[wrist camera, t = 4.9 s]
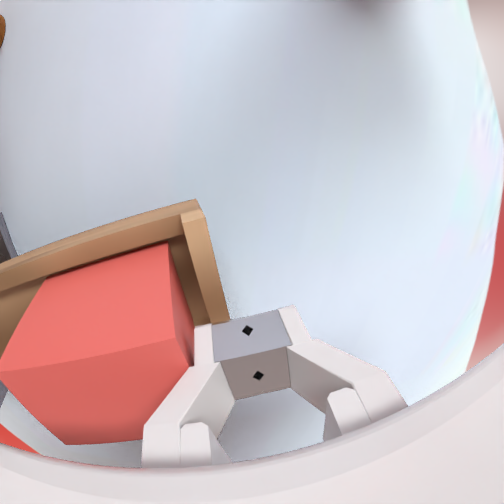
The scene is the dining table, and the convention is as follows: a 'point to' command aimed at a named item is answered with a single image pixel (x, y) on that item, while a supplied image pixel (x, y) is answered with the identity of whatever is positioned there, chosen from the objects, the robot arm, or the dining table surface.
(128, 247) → the beam
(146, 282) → the rider
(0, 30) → the disposable coffee cup
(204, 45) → the dining table surface
